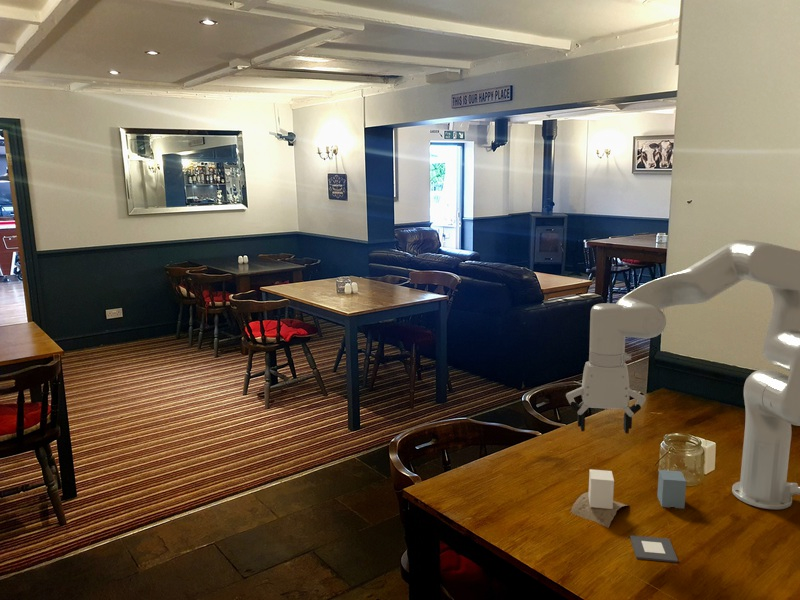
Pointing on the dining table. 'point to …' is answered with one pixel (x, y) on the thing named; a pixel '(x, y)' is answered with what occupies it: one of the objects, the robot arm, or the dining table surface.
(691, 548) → the dining table surface
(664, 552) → the card
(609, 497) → the cream block
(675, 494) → the slate-blue block
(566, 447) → the dining table surface
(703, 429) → the dining table surface
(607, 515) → the clay tablet
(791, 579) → the dining table surface
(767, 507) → the robot arm
